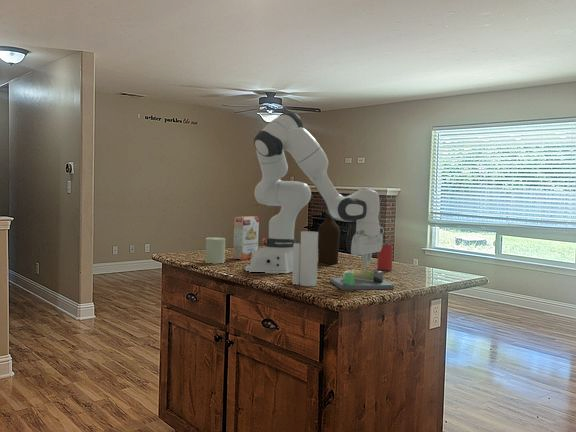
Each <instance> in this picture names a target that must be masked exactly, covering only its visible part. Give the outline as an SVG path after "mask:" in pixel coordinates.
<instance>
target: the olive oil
mask: <svg viewBox="0 0 576 432" xmlns="http://www.w3.org/2000/svg"><path fill="white" fill-rule="evenodd" d="M317 232H318V257H317V264H320V265H331V266H332V265H337V264H339V262H338V261H339V249H340V238H341V230H340V226H339V225H338V224H337V223H336V221H335V220H334V219H332V218H331V217H330V216H329V215H328V212H327V210H326V212H325V220H324V221H322V223H321V224H320V225H319V227H318V229H317Z"/></svg>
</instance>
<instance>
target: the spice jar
mask: <svg viewBox="0 0 576 432" xmlns="http://www.w3.org/2000/svg"><path fill="white" fill-rule="evenodd" d="M351 273H352V274H354V278H357V279H364V280H371V281H374V282H383V280H384V271H382V270H374V271H370V270H361V269H354V268H353V269H351Z"/></svg>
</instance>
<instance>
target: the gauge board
mask: <svg viewBox="0 0 576 432" xmlns="http://www.w3.org/2000/svg"><path fill="white" fill-rule="evenodd" d="M329 282H331V283H332V284H333V285H334V286H336V287H337V288H339V289H340V290H341V291H342V290H343V291H344V290H347V291H348V290H350V291H351V290H352V291H355V290H359V291H360V290H395V284H393V283H392V282H389V281H387V280H385V279H383V282H374V281H371V280H364V279H357V278H354V274H352V269H351V270H350V269H348V270H346V271H343V274H342V277H330V279H329Z"/></svg>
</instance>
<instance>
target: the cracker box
mask: <svg viewBox="0 0 576 432" xmlns="http://www.w3.org/2000/svg"><path fill="white" fill-rule="evenodd" d="M233 225H234V228H233V246H232V247H233V250H232V260H236V259H240V260H239V261H244V260H243V259H246V260H249V259H248V258H252V256H253V254H255V253H256V252H257V251H259V233H260V232H259V230H260V229H259V227H260V217H259V216H253V215H251V216H235V217H234V223H233Z"/></svg>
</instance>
